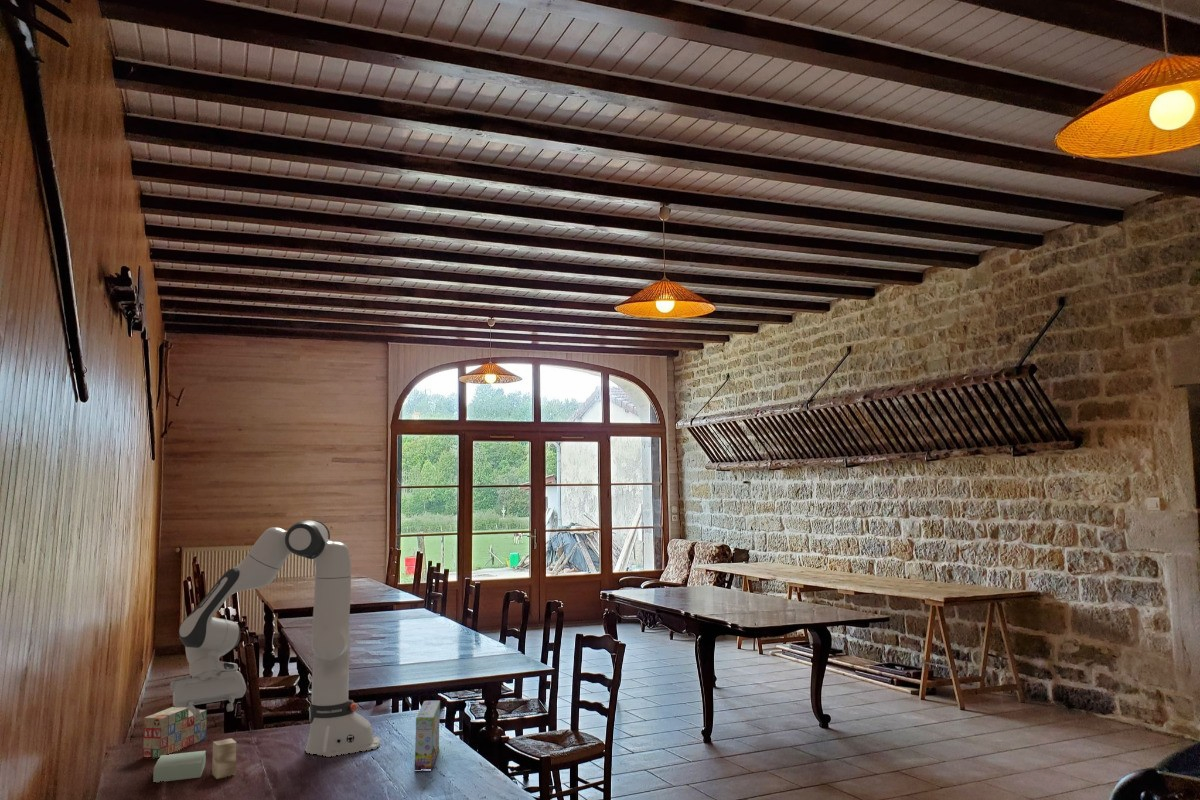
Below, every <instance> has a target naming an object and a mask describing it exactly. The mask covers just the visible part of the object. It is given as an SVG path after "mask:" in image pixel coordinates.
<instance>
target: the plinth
mask: <svg viewBox="0 0 1200 800" xmlns="http://www.w3.org/2000/svg"><path fill="white" fill-rule="evenodd" d="M206 753H207V750H199V751H197V750H196V751H189V752H180V753H173V754H169V755H161V756H160V758H159V759H157V761H156V763H155V764H154V767H153V773H152V776H153V777H152V780H153V781H152V782H156V783H163V782H162V781H164V782H171V781H179V780H180V781H181V780H188V779H197V778H201V777H202V774H203V771H204V769H205V767H206V761H207V759H206V758H207V757H206ZM160 781H161V782H160Z"/></svg>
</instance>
